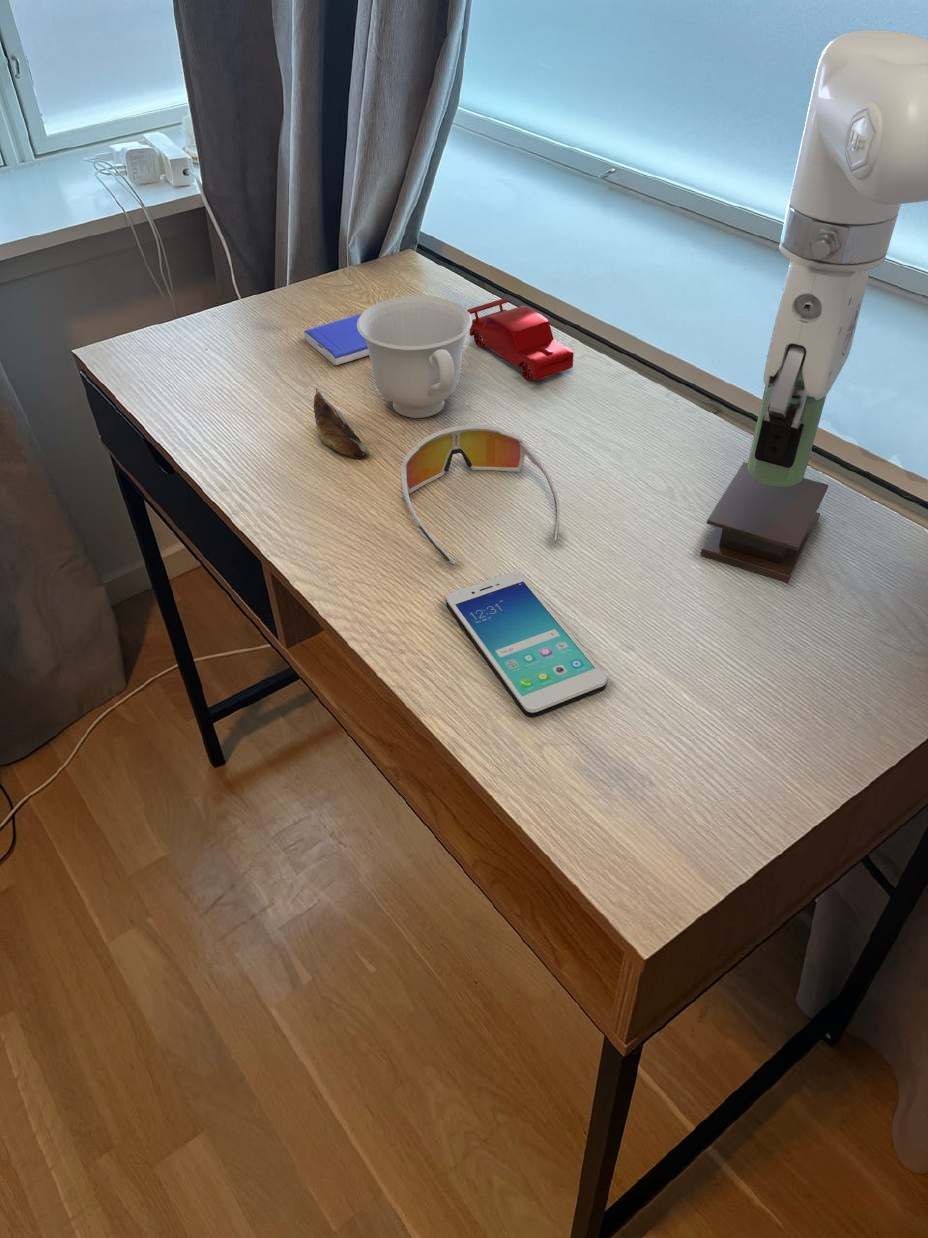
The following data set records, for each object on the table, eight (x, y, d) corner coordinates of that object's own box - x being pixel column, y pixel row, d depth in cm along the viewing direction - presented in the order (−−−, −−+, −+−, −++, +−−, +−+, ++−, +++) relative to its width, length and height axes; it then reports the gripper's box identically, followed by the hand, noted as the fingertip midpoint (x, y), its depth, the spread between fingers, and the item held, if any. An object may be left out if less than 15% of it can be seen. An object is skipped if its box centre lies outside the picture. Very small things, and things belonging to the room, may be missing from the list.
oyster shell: (357, 480, 104) (305, 407, 105) (384, 458, 103) (331, 385, 104) (338, 473, 98) (284, 395, 99) (367, 450, 98) (311, 372, 99)
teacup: (397, 458, 99) (391, 370, 93) (349, 391, 109) (340, 307, 103) (502, 431, 103) (504, 344, 96) (447, 369, 113) (444, 286, 106)
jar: (810, 464, 85) (833, 382, 79) (795, 492, 82) (818, 409, 76) (756, 450, 87) (775, 369, 81) (740, 477, 84) (758, 395, 78)
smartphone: (527, 713, 72) (441, 594, 82) (527, 720, 73) (442, 602, 83) (611, 680, 75) (518, 569, 85) (610, 688, 75) (518, 576, 85)
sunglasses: (518, 451, 100) (522, 412, 96) (574, 553, 91) (581, 515, 87) (386, 477, 97) (384, 438, 93) (430, 586, 88) (430, 548, 84)
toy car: (466, 341, 118) (466, 302, 115) (503, 328, 120) (504, 290, 117) (535, 388, 109) (536, 348, 106) (573, 374, 112) (576, 334, 108)
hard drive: (391, 302, 123) (303, 328, 118) (425, 326, 118) (335, 354, 113) (391, 314, 124) (305, 340, 119) (425, 338, 119) (336, 367, 114)
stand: (818, 519, 91) (829, 484, 88) (788, 583, 84) (798, 547, 82) (735, 496, 94) (743, 461, 91) (700, 555, 87) (707, 520, 84)
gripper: (862, 286, 63) (799, 511, 76) (913, 202, 74) (850, 410, 86) (750, 264, 66) (707, 484, 78) (814, 186, 77) (768, 390, 89)
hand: (783, 443), depth 82 cm, fingers closed on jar, 4 cm apart
